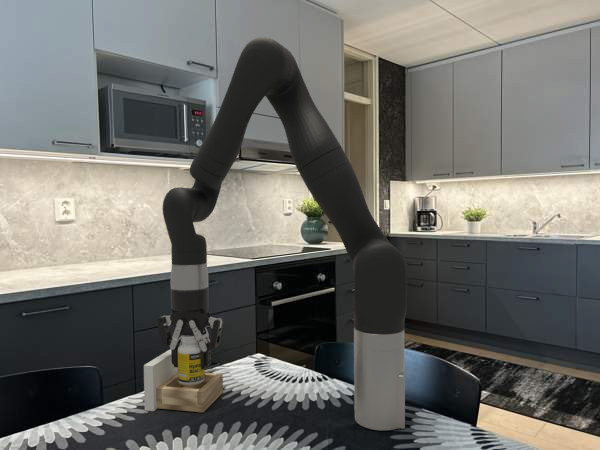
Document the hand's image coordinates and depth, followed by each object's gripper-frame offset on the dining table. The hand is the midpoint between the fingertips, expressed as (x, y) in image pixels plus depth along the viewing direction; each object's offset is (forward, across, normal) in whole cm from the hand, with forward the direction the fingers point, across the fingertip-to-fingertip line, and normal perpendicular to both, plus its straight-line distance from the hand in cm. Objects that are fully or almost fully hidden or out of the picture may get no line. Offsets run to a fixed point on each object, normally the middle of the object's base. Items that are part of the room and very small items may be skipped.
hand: (191, 366), depth 94 cm
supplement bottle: (+3, 0, 0) cm, 3 cm away
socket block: (+7, 0, 0) cm, 7 cm away
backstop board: (+7, +6, 0) cm, 9 cm away
